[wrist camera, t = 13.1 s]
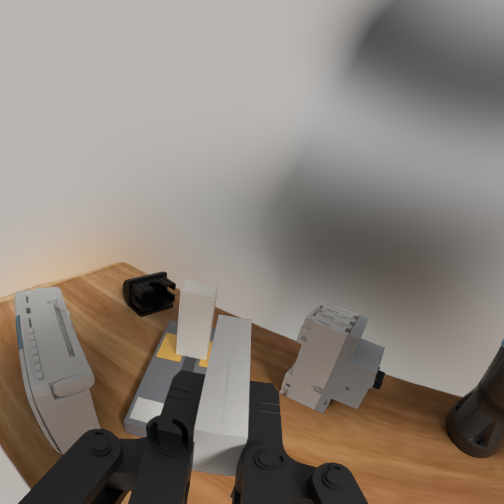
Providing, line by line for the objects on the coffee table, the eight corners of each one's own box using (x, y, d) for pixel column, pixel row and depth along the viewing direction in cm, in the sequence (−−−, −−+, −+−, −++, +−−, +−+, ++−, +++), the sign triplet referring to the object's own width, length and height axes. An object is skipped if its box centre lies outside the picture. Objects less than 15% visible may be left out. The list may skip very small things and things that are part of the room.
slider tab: (209, 345, 48) (218, 285, 45) (206, 360, 44) (214, 297, 41) (181, 340, 48) (186, 279, 44) (176, 354, 44) (180, 290, 41)
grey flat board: (229, 341, 55) (231, 331, 54) (216, 453, 30) (218, 443, 29) (169, 330, 54) (170, 319, 53) (125, 432, 30) (123, 421, 29)
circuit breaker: (356, 427, 37) (399, 355, 32) (278, 392, 43) (304, 317, 39) (367, 400, 43) (403, 331, 39) (297, 370, 50) (321, 299, 45)
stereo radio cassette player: (28, 358, 35) (5, 245, 29) (69, 351, 41) (56, 240, 34) (58, 461, 21) (-1, 333, 15) (114, 446, 27) (87, 319, 21)
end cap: (157, 293, 67) (159, 267, 65) (175, 306, 64) (177, 279, 61) (122, 302, 60) (122, 275, 58) (138, 318, 56) (138, 289, 54)
